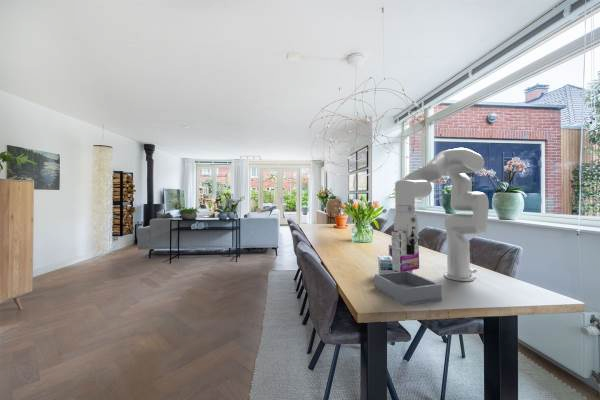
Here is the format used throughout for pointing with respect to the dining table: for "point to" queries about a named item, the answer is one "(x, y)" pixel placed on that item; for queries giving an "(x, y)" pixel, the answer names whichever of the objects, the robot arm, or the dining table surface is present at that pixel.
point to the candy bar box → (403, 253)
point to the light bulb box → (385, 264)
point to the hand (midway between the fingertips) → (405, 252)
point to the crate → (408, 287)
